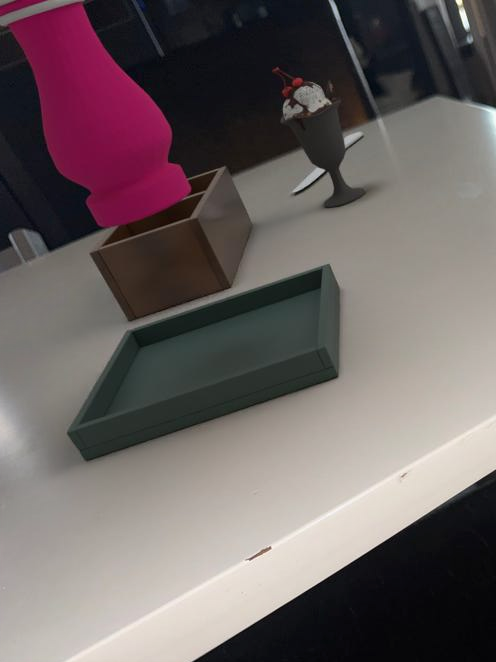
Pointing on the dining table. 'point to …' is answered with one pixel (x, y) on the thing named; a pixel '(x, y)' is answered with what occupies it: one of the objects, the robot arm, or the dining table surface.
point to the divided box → (177, 248)
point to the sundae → (319, 132)
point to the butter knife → (318, 171)
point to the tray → (213, 362)
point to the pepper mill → (95, 114)
